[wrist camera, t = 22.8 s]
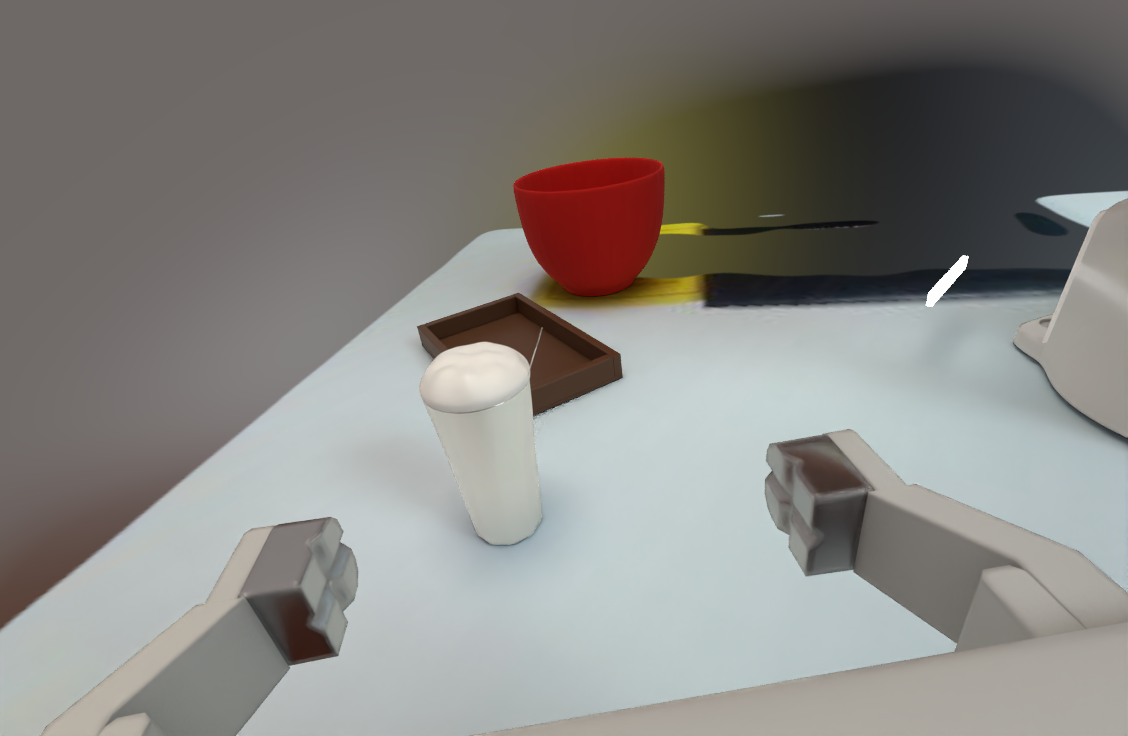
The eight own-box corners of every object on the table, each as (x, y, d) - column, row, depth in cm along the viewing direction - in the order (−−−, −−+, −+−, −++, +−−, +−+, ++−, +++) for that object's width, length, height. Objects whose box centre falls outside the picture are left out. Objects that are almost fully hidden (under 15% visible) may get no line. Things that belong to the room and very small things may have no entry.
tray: (522, 311, 49) (518, 292, 48) (622, 377, 37) (620, 353, 36) (422, 345, 45) (416, 326, 44) (497, 431, 33) (492, 406, 32)
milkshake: (567, 557, 24) (533, 357, 19) (450, 558, 25) (388, 366, 20) (576, 486, 28) (549, 305, 23) (475, 489, 29) (428, 314, 24)
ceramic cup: (630, 241, 62) (623, 147, 57) (691, 292, 47) (689, 171, 42) (517, 263, 60) (500, 168, 56) (543, 323, 46) (523, 201, 41)
